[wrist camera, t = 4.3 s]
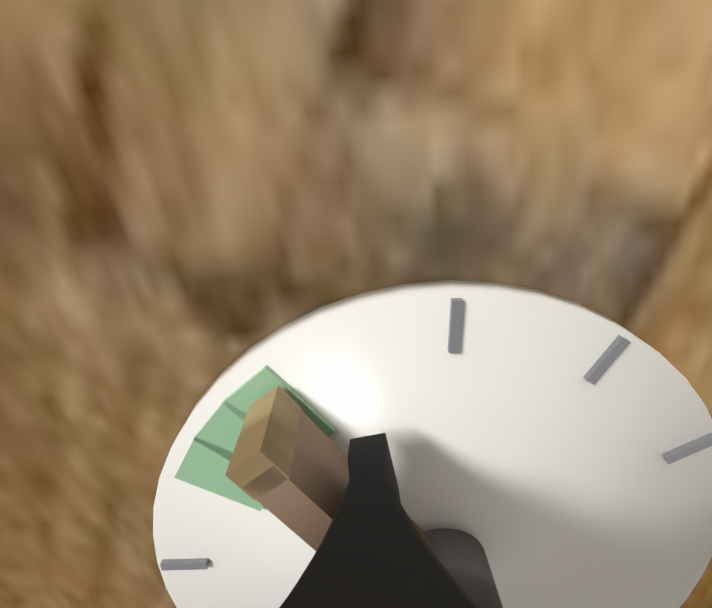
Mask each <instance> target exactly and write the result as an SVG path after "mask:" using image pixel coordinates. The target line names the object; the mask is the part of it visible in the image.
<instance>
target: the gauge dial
mask: <svg viewBox="0 0 712 608" xmlns="http://www.w3.org/2000/svg"><path fill="white" fill-rule="evenodd" d="M277 385H279V386H280V387H281V388H282V389H283V390H284V391H285V392H286V393H287V394H288V395H289V396H290V397H291V398H292V399H293V400H294V401H295V402H296V403H297V404H298V405H299V406H300V407H301V410H302V411H303V412H304V413H305V414H306V415H307V416H308V417H309V418H310V419H311V420H312V421H313V422H314V423H315V424H316V425H317V426H318V427H319V428H320V429H321V430H322V431H323V432H324V433H325V434H326V435H327V436H328V437H329V438H330V439H331V440H332V441H333V442H334V443H335V444H336V445H337V446H338V447H339V448H340V449H341V450H342V451H343V452H344V453H345V454H346V455H347V456H348V449H349V443H350V439H353V438H358V437H364V436H369V435H375V434H380V433H386V437H387V441H388V446H389V450H390V454H391V458H392V463H393V467H394V471H395V475H396V479H397V484H398V488H399V494H400V501H401V505H402V506H403V508H404V510H405V511H406V513H407V515H408V516H409V517H410V518H411V519H412V520H413V521H414V522H415V523H416V524H417V525H418V526H419V527H420V528H421V529H422V530H423V531H428V530H432V529H440V528H450V529H456V530H461V531H463V532H466V533H468V534H470V535H472V536H473V537H475V538H476V539H477V540H478V541H479V542H480V543H481V544H482V546H483V548H484V551H485V554H486V557H487V560H488V563H489V566H490V569H491V572H492V575H493V578H494V581H495V584H496V588H497V591H498V594H499V597H500V600H501V603H502V606H503V608H680V607H681V605H682V604H683V603H684V602H685V601H686V599H687V598H688V597H689V596H690V594H691V593H692V591H693V589H694V588H695V586H696V585H697V583H698V582H699V580H700V579H701V577H702V576H703V574H704V572H705V570H706V568H707V566H708V564H709V562H710V560H711V558H712V418H711V416H710V414H709V412H708V410H707V408H706V406H705V404H704V403H703V401H702V400H701V399H700V397H699V396H698V394H697V393H696V392H695V390H694V389H693V388H692V386H691V385H690V383H689V382H688V381H687V379H686V378H685V377H684V376H683V375H682V374H681V373H680V372H679V371H678V370H677V369H676V368H675V367H674V366H673V365H672V364H670V363H669V362H668V361H667V360H666V359H665V358H664V357H663V356H662V355H661V354H660V353H659V352H657V351H656V350H655V349H653V348H652V347H651V346H649V345H648V344H646V343H645V342H644V341H642V340H641V339H639V338H638V337H637V336H635V335H634V334H632V333H631V332H629V331H628V330H626V329H625V328H623V327H622V326H620V325H619V324H617V323H616V322H615V321H613V320H612V319H610V318H609V317H607V316H604V315H602V314H600V313H598V312H596V311H594V310H592V309H590V308H588V307H586V306H584V305H581V304H579V303H577V302H575V301H573V300H570V299H566V298H563V297H560V296H557V295H554V294H550V293H547V292H544V291H541V290H538V289H534V288H528V287H522V286H516V285H510V284H505V283H499V282H493V281H468V280H440V281H428V282H417V283H405V284H400V285H395V286H391V287H386V288H381V289H376V290H372V291H367V292H362V293H359V294H356V295H353V296H350V297H347V298H344V299H342V300H339V301H336V302H333V303H330V304H327V305H324V306H321V307H319V308H317V309H315V310H313V311H311V312H309V313H307V314H305V315H303V316H301V317H299V318H297V319H295V320H293V321H291V322H288V323H286V324H284V325H283V326H281V327H280V328H278V329H277V330H275V331H274V332H272V333H271V334H269V335H268V336H266V337H265V338H263V339H262V340H260V341H259V342H257V343H256V344H254V345H253V346H251V347H250V348H249V349H248V350H246V351H245V352H244V353H243V354H242V355H241V356H240V357H239V358H237V359H236V360H235V361H234V362H233V363H232V364H231V365H230V366H228V367H227V368H226V369H225V370H224V371H223V372H222V373H221V374H220V375H219V376H218V378H217V379H216V380H215V381H214V382H213V384H212V385H211V386H210V387H209V388H208V389H207V391H206V392H205V393H204V394H203V395H202V397H201V398H200V399H199V401H198V402H197V404H196V406H195V407H194V409H193V411H192V412H191V414H190V416H189V417H188V419H187V421H186V422H185V424H184V426H183V427H182V429H181V431H180V433H179V434H178V436H177V438H176V440H175V442H174V443H173V445H172V447H171V450H170V452H169V455H168V457H167V460H166V462H165V465H164V467H163V470H162V472H161V475H160V478H159V483H158V488H157V493H156V498H155V503H154V515H153V538H154V544H155V550H156V557H157V563H158V566H159V569H160V571H161V574H162V577H163V580H164V583H165V586H166V589H167V590H168V592H169V594H170V596H171V598H172V600H173V602H174V603H175V605H176V607H177V608H279V607H280V606H281V605H282V603H283V602H284V601H285V599H286V598H287V597H288V595H289V594H290V592H291V591H292V589H293V588H294V586H295V585H296V583H297V582H298V580H299V579H300V577H301V575H302V574H303V572H304V571H305V569H306V567H307V566H308V564H309V563H310V561H311V559H312V558H313V556H314V554H315V552H316V551H315V550H314V549H313V548H311V547H310V546H309V545H308V544H307V543H306V542H305V541H303V540H302V539H301V538H300V537H299V536H298V535H296V534H295V533H294V532H293V531H292V530H291V529H289V528H288V527H287V526H286V525H285V524H284V523H283V522H281V521H280V520H279V519H278V518H277V517H276V516H274V515H273V514H272V513H271V512H270V511H269V510H267V509H266V508H265V507H264V506H263V505H262V504H261V503H259V502H258V501H257V500H256V501H254V500H253V499H252V498H251V497H250V496H248V495H247V494H246V493H245V492H244V491H243V490H242V489H240V488H239V487H238V486H237V485H236V484H235V483H233V482H232V481H231V480H230V479H229V478H228V477H226V476H225V474H226V471H227V469H228V466H229V463H230V460H231V457H232V454H233V452H234V449H235V446H236V443H237V440H238V437H239V435H240V432H241V429H242V426H243V423H244V421H245V418H246V415H247V412H248V409H249V406H250V405H251V404H252V403H254V402H255V401H257V400H258V399H259V398H261V397H262V396H263V395H265V394H266V393H267V392H269V391H270V390H272V389H273V388H274V387H276V386H277Z"/></svg>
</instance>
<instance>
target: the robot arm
mask: <svg viewBox="0 0 712 608" xmlns="http://www.w3.org/2000/svg"><path fill="white" fill-rule="evenodd" d="M348 470H349V482H348V484H347V487H346V490H345V492H344V495H343V497H342V500H341V502H340V504H339V507H338V509H337V511H336V513H335V515H334V518H333V520H332V522H331V524H330V526H329V528H328V530H327V532H326V534H325V536H324V538H323V540H322V542H321V544H320V545H319V547H318V549H317V551H316V552H315V554H314V556H313V558H312V559H311V561H310V563H309V564H308V566H307V567H306V569H305V571H304V572H303V574H302V575H301V577H300V579H299V580H298V582H297V583H296V585H295V586H294V588H293V589H292V591H291V592H290V594H289V595H288V597H287V598H286V599H285V601H284V602H283V603H282V605H281V606H280V607H279V608H479V607H478V606H477V605H476V604H475V603H474V602H473V600H472V599H471V598H470V597H469V596H468V595H467V594H466V593H465V592H464V590H463V589H462V588H461V587H460V586H459V585H458V583H457V582H456V581H455V580H454V579H453V577H452V576H451V575H450V574H449V572H448V571H447V570H446V569H445V568H444V566H443V565H442V564H441V563H440V561H439V560H438V559H437V558H436V556H435V555H434V554H433V552H432V551H431V549H430V548H429V547H428V545H427V544H426V543H425V541H424V540H423V538H422V537H421V535H420V534H419V532H418V531H417V529H416V528H415V526H414V525H413V523H412V521H411V520H410V518H409V517H408V515H407V513H406V511H405V510H404V508H403V506H402V505H401V501H400V494H399V488H398V484H397V479H396V475H395V471H394V467H393V463H392V458H391V454H390V450H389V446H388V441H387V437H386V433H380V434H375V435H369V436H364V437H358V438H353V439H350V443H349V449H348Z"/></svg>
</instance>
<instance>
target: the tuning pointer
mask: <svg viewBox="0 0 712 608" xmlns="http://www.w3.org/2000/svg"><path fill="white" fill-rule="evenodd" d="M225 476H226V477H228V478H229V479H230V480H231V481H232V482H233V483H235V484H236V485H237V486H238V487H239V488H240V489H242V490H243V491H244V492H245V493H246V494H247V495H248V496H250V497H251V498H252V499H253V500H254V501H256V500H257V501H258V502H259V503H261V504H262V505H263V506H264V507H265V508H266V509H267V510H269V511H270V512H271V513H272V514H273V515H274V516H276V517H277V518H278V519H279V520H280V521H281V522H283V523H284V524H285V525H286V526H287V527H288V528H289V529H291V530H292V531H293V532H294V533H295V534H296V535H298V536H299V537H300V538H301V539H302V540H303V541H305V542H306V543H307V544H308V545H309V546H310V547H311V548H313V549H314V550H315V551H317V549H318V547H319V545H320V544H321V542H322V540H323V538H324V536H325V534H326V532H327V530H328V528H329V526H330V524H331V522H332V520H333V518H334V515H335V513H336V511H337V509H338V507H339V504H340V502H341V500H342V497H343V495H344V492H345V490H346V487H347V484H348V482H349V470H348V456H347V455H346V454H345V453H344V452H343V451H342V450H341V449H340V448H339V447H338V446H337V445H336V444H335V443H334V442H333V441H332V440H331V439H330V438H329V437H328V436H327V435H326V434H325V433H324V432H323V431H322V430H321V429H320V428H319V427H318V426H317V425H316V424H315V423H314V422H313V421H312V420H311V419H310V418H309V417H308V416H307V415H306V414H305V413H304V412H303V411H302V410H301V407H300V406H299V405H298V404H297V403H296V402H295V401H294V400H293V399H292V398H291V397H290V396H289V395H288V394H287V393H286V392H285V391H284V390H283V389H282V388H281V387H280V386H279V385H277V386H276V387H274V388H273V389H272V390H270V391H269V392H267V393H266V394H265V395H263V396H262V397H261V398H259V399H258V400H257V401H255V402H254V403H252V404H251V405H250V406H249V409H248V412H247V415H246V418H245V421H244V423H243V426H242V429H241V432H240V435H239V437H238V440H237V443H236V446H235V449H234V452H233V454H232V457H231V460H230V463H229V466H228V469H227V471H226V474H225ZM408 517H409V516H408ZM409 518H410V517H409ZM410 520H411V521H412V523H413V525H414V526H415V528H416V529H417V531H418V532H419V534H420V535H421V537H422V538H423V540H424V541H425V543H426V544H427V545H428V547H429V548H430V549H431V551H432V552H433V554H434V555H435V556H436V558H437V559H438V560H439V561H440V563H441V564H442V565H443V566H444V568H445V569H446V570H447V571H448V572H449V574H450V575H451V576H452V577H453V579H454V580H455V581H456V582H457V583H458V585H459V586H460V587H461V588H462V589H463V590H464V592H465V593H466V594H467V595H468V596H469V597H470V598H471V599H472V600H473V602H474V603H475V604H476V605H477V606H478V607H479V608H503V606H502V603H501V600H500V597H499V594H498V591H497V588H496V584H495V581H494V578H493V575H492V572H491V569H490V566H489V563H488V560H487V557H486V554H485V551H484V548H483V546H482V544H481V543H480V542H479V541H478V540H477V539H476V538H475V537H473V536H472V535H470V534H468V533H466V532H463V531H461V530H456V529H450V528H440V529H432V530H428V531H423V530H422V529H421V528H420V527H419V526H418V525H417V524H416V523H415V522H414V521H413V520H412V519H411V518H410Z"/></svg>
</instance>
